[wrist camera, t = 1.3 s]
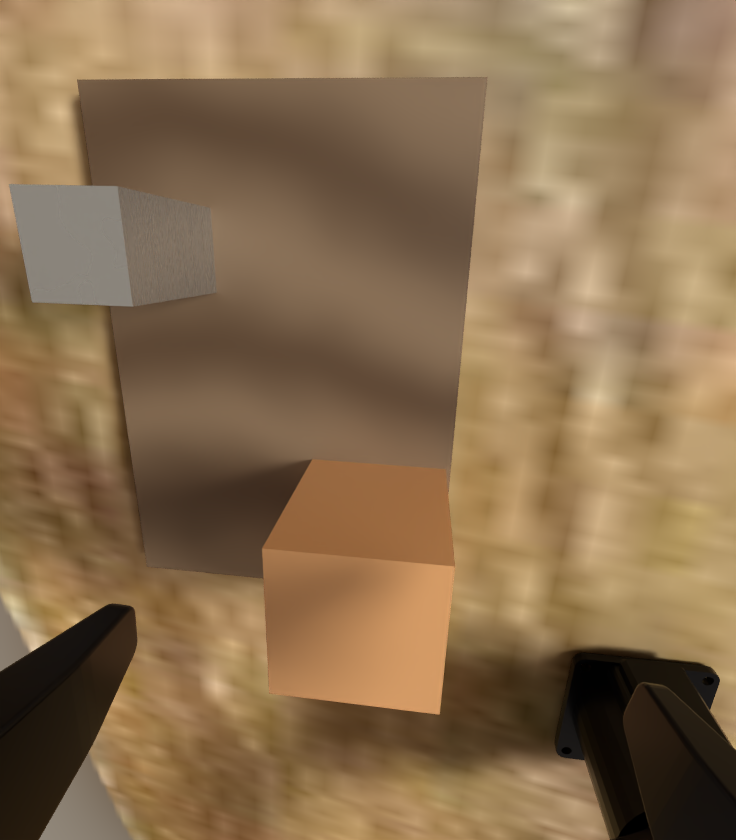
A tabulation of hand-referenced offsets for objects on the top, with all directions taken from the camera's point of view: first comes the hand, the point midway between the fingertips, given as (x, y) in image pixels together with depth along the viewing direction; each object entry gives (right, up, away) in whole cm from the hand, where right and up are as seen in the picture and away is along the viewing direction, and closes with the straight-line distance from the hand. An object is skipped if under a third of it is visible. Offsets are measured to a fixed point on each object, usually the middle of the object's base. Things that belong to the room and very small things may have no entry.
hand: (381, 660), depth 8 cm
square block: (0, 0, +12) cm, 12 cm away
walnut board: (-4, +7, +12) cm, 14 cm away
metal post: (-7, +11, +10) cm, 16 cm away
